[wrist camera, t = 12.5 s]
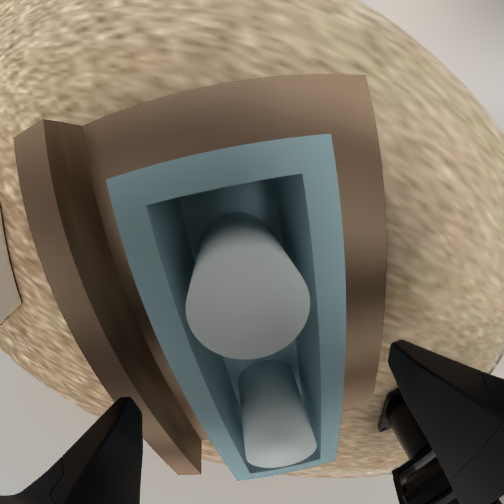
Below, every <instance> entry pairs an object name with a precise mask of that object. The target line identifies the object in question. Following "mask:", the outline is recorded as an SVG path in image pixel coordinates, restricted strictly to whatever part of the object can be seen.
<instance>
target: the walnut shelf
mask: <svg viewBox="0 0 504 504" xmlns="http://www.w3.org/2000/svg"><path fill="white" fill-rule="evenodd" d="M321 134H331V137H332V143H333V150H334V156H335V163H336V171H337V178H338V186H339V195H340V205H341V215H342V226H343V240H344V256H345V278H346V352H345V374H344V389H343V402H342V412H344V411H347V410H349V409H352V408H355V407H358V406H361V405H363V404H366V403H369V402H371V401H372V397H373V392H374V386H375V381H376V375H377V369H378V362H379V355H380V348H381V339H382V330H383V320H384V307H385V291H386V258H387V246H386V212H385V196H384V183H383V173H382V164H381V156H380V148H379V141H378V135H377V128H376V123H375V117H374V112H373V107H372V102H371V97H370V92H369V88H368V84H367V79H366V75H349V74H310V75H290V76H277V77H266V78H257V79H249V80H242V81H235V82H229V83H223V84H218V85H213V86H208V87H203V88H198V89H194V90H189V91H185V92H181V93H177V94H173V95H169V96H166V97H162V98H159V99H155V100H152V101H148V102H145V103H142V104H139V105H136V106H133V107H130V108H127V109H124V110H121V111H119V112H116V113H113V114H111V115H108V116H106V117H103V118H101V119H98V120H96V121H93V122H91V123H89V124H86V125H84V126H79V125H74V124H68V123H63V122H57V121H51V120H45V119H43V120H41V121H39V122H38V123H36V124H34V125H33V126H31V127H30V128H28V129H26V130H25V131H23V132H22V133H20V134H19V135H17V136H16V137H14V147H15V156H16V163H17V170H18V176H19V182H20V188H21V193H22V197H23V202H24V206H25V211H26V215H27V219H28V222H29V226H30V230H31V233H32V237H33V240H34V243H35V246H36V249H37V252H38V255H39V258H40V261H41V264H42V267H43V270H44V272H45V275H46V277H47V280H48V282H49V285H50V287H51V290H52V292H53V295H54V297H55V299H56V301H57V304H58V306H59V308H60V310H61V312H62V314H63V317H64V319H65V321H66V323H67V325H68V327H69V329H70V331H71V333H72V334H73V336H74V338H75V340H76V342H77V344H78V346H79V347H80V349H81V351H82V353H83V354H84V356H85V358H86V359H87V361H88V363H89V364H90V366H91V368H92V369H93V371H94V372H95V374H96V376H97V377H98V379H99V380H100V382H101V383H102V385H103V386H104V388H105V389H106V391H107V392H108V394H109V395H110V396H111V398H112V399H113V401H114V402H115V401H116V400H117V399H118V398H120V397H131V398H132V399H133V400H134V402H135V403H136V404H137V406H138V407H139V409H140V410H141V412H142V417H143V418H142V431H143V438H144V440H145V441H146V442H147V443H148V444H149V445H150V446H151V447H152V449H153V450H154V451H155V452H156V453H157V454H158V455H159V456H160V457H161V458H162V459H163V460H164V461H165V462H166V463H167V464H168V465H169V466H170V467H171V468H172V469H173V470H174V471H175V472H176V473H177V474H178V475H195V474H201V442H202V440H210V439H209V437H208V435H207V434H206V432H205V431H204V429H203V427H202V425H201V424H200V422H199V420H198V419H197V417H196V415H195V413H194V412H193V410H192V408H191V406H190V404H189V402H188V401H187V399H186V397H185V395H184V393H183V391H182V389H181V387H180V385H179V383H178V382H177V380H176V378H175V376H174V373H173V371H172V369H171V367H170V365H169V363H168V361H167V359H166V357H165V355H164V352H163V350H162V348H161V346H160V344H159V341H158V339H157V337H156V334H155V332H154V330H153V327H152V325H151V322H150V320H149V318H148V315H147V313H146V310H145V307H144V305H143V302H142V300H141V297H140V294H139V292H138V289H137V286H136V283H135V280H134V278H133V275H132V272H131V269H130V266H129V263H128V260H127V257H126V253H125V250H124V247H123V244H122V240H121V237H120V233H119V230H118V226H117V223H116V219H115V215H114V211H113V207H112V203H111V199H110V195H109V191H108V186H107V182H106V179H109V178H112V177H115V176H118V175H122V174H125V173H128V172H131V171H134V170H138V169H141V168H145V167H148V166H152V165H155V164H159V163H163V162H167V161H170V160H174V159H178V158H182V157H187V156H191V155H195V154H200V153H204V152H209V151H213V150H218V149H223V148H229V147H234V146H239V145H245V144H251V143H257V142H263V141H270V140H277V139H285V138H293V137H301V136H311V135H321Z"/></svg>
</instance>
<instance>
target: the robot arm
mask: <svg viewBox="0 0 504 504" xmlns="http://www.w3.org/2000/svg"><path fill="white" fill-rule="evenodd" d="M388 363H389V367H390V369H391V371H392V373H393V375H394V378H395V380H396V382H397V384H398V386H399V390H397V391H394V392H392V393H390V394H389V395H388V396H387V399H386V403H385V407H384V410H383V414H382V417H381V420H380V424H379V427H378V430H379V432H383V431H385V430H388V429H390V428H392V429H393V431H394V433H395V434H396V436H397V438H398V440H399V442H400V443H401V445H402V447H403V449H404V450H405V452H406V454H407V456H408V458H409V461H408V462H406V463H405V464H403V465H402V466H400V467H399V468H396V469H394V470H393V471H392V474H393V477H394V478H393V480H394V484H395V488H396V492H397V496H398V499H399V503H400V504H504V379H502V378H499V377H496V376H493V375H490V374H488V373H485V372H481V371H480V370H477V369H474V368H472V367H469V366H467V365H464V364H462V363H459V362H457V361H454V360H452V359H449V358H447V357H444V356H442V355H439V354H437V353H434V352H432V351H429V350H427V349H424V348H422V347H419V346H417V345H414V344H412V343H410V342H407V341H405V340H398V341H396V342H393V343H392V344H391V346H390V352H389V358H388ZM142 418H143V417H142V412H141V410H140V409H139V407H138V406H137V404H136V403H135V402H134V400H133V399H132V398H131V397H120V398H118V399H117V400H116V401H115V403H114V404H113V405H112V406H111V407H110V408H109V409H108V410H107V411H106V412H105V413H104V414H103V415H102V416H101V417H100V418H99V419H98V420H97V421H96V422H95V423H94V424H93V425H92V426H91V427H90V428H89V429H88V430H87V432H85V433H84V435H82V437H81V438H80V439H79V440H78V441H77V442H76V443H75V444H74V445H73V446H72V447H71V448H70V449H69V450H68V451H67V452H66V453H65V454H64V455H63V457H61V458H60V459H59V460H58V461H57V462H56V463H55V464H54V465H53V466H52V467H51V468H50V469H49V470H48V471H47V472H46V473H44V474H43V475H42V476H41V477H39V478H38V479H37V480H36V481H34V482H33V483H32V484H31V485H29V486H28V487H27V488H26V489H24V490H23V491H22V492H20V493H18V494H15V495H10V496H0V504H139V503H140V481H141V468H142V455H143V431H142Z"/></svg>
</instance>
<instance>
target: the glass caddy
mask: <svg viewBox="0 0 504 504" xmlns="http://www.w3.org/2000/svg"><path fill="white" fill-rule="evenodd" d="M106 182H107V186H108V191H109V195H110V199H111V203H112V207H113V211H114V215H115V219H116V223H117V226H118V230H119V233H120V237H121V240H122V244H123V247H124V250H125V253H126V257H127V260H128V263H129V266H130V269H131V272H132V275H133V278H134V280H135V283H136V286H137V289H138V292H139V294H140V297H141V300H142V302H143V305H144V307H145V310H146V313H147V315H148V318H149V320H150V322H151V325H152V327H153V330H154V332H155V334H156V337H157V339H158V341H159V344H160V346H161V348H162V350H163V352H164V355H165V357H166V359H167V361H168V363H169V365H170V367H171V369H172V371H173V373H174V376H175V378H176V380H177V382H178V383H179V385H180V387H181V389H182V391H183V393H184V395H185V397H186V399H187V401H188V402H189V404H190V406H191V408H192V410H193V412H194V413H195V415H196V417H197V419H198V420H199V422H200V424H201V425H202V427H203V429H204V431H205V432H206V434H207V435H208V437H209V439H210V440H211V442H212V444H213V445H214V447H215V448H216V450H217V451H218V453H219V454H220V456H221V457H222V459H223V460H224V462H225V463H226V465H227V466H228V468H229V469H230V471H231V472H232V474H233V475H234V476H235V478H236V479H237V480H247V479H255V478H261V477H267V476H273V475H279V474H284V473H289V472H293V471H298V470H302V469H306V468H310V467H314V466H317V465H321V464H324V463H328V462H331V461H334V460H336V453H337V446H338V439H339V431H340V422H341V413H342V402H343V389H344V374H345V352H346V278H345V256H344V240H343V226H342V215H341V205H340V195H339V186H338V178H337V171H336V163H335V156H334V150H333V143H332V137H331V134H321V135H311V136H301V137H293V138H285V139H277V140H270V141H263V142H257V143H251V144H245V145H239V146H234V147H229V148H223V149H218V150H213V151H209V152H204V153H200V154H195V155H191V156H187V157H182V158H178V159H174V160H170V161H167V162H163V163H159V164H155V165H152V166H148V167H145V168H141V169H138V170H134V171H131V172H128V173H125V174H122V175H118V176H115V177H112V178H109V179H106Z"/></svg>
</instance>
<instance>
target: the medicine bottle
mask: <svg viewBox="0 0 504 504" xmlns="http://www.w3.org/2000/svg"><path fill="white" fill-rule="evenodd" d="M20 305H21V300H20V296H19V293H18V290H17V287H16V283H15V280H14V276H13V272H12V269H11V265H10V260H9V256H8V252H7V247H6V242H5V236H4V231H3V225H2V218H1V210H0V325H1V324H2V323H3V322H4V321H5V320H6V319H7V318H8V317H9V316H10V315H11V314H13V313H14V312H15V311H16V310H17V309H18V308H19V307H20Z"/></svg>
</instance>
